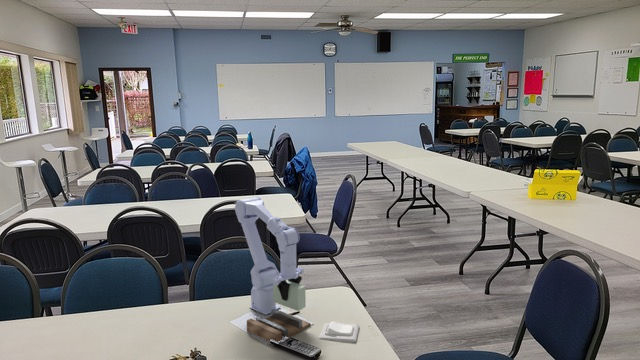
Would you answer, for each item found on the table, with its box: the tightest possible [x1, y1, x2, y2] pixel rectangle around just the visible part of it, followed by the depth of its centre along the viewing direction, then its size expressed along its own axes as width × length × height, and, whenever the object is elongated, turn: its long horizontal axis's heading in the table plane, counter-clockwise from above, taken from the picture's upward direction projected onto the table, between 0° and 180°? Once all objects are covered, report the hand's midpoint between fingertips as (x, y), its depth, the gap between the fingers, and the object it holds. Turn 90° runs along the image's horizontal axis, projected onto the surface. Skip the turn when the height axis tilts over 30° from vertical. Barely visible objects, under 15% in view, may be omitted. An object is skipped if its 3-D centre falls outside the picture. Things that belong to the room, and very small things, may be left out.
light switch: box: [318, 320, 360, 343], centre depth 157 cm, size 11×4×13 cm
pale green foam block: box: [273, 280, 307, 312], centre depth 163 cm, size 5×12×8 cm, turn 52°
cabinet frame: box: [246, 309, 312, 342], centre depth 160 cm, size 15×17×4 cm
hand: (288, 297), depth 163 cm, fingers closed on pale green foam block, 4 cm apart
